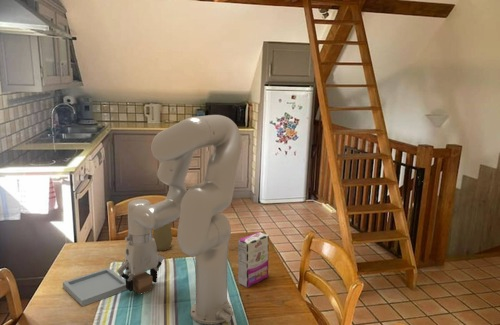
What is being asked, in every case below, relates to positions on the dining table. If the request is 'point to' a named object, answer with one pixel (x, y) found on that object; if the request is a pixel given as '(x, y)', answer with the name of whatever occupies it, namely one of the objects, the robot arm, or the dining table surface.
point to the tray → (95, 286)
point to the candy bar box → (253, 259)
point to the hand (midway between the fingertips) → (142, 285)
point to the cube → (142, 282)
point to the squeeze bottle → (163, 237)
